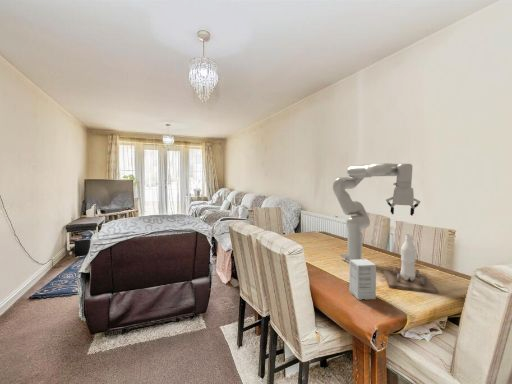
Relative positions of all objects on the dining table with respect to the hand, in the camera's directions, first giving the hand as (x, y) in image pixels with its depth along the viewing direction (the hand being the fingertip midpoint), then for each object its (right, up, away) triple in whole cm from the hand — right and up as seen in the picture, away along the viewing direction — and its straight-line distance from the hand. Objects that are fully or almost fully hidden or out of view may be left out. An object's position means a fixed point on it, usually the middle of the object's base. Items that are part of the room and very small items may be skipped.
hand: (401, 214), depth 146 cm
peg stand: (0, -37, -6) cm, 38 cm away
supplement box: (-32, -38, -21) cm, 54 cm away
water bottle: (0, -36, -6) cm, 36 cm away
